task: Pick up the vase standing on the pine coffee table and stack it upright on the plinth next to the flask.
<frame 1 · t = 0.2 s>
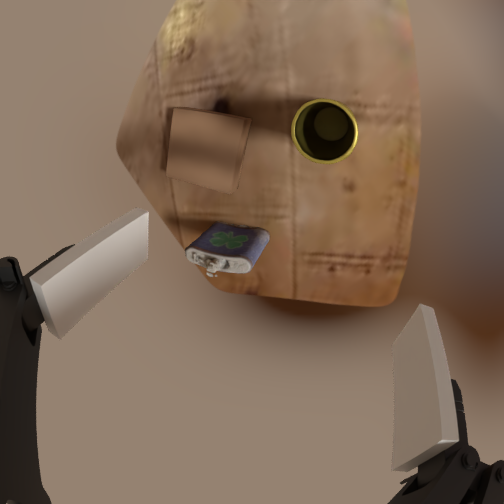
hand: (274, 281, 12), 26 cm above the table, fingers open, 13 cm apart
vase: (331, 123, 32), on the table
plinth: (210, 146, 38), on the table
flask: (240, 232, 43), on the table
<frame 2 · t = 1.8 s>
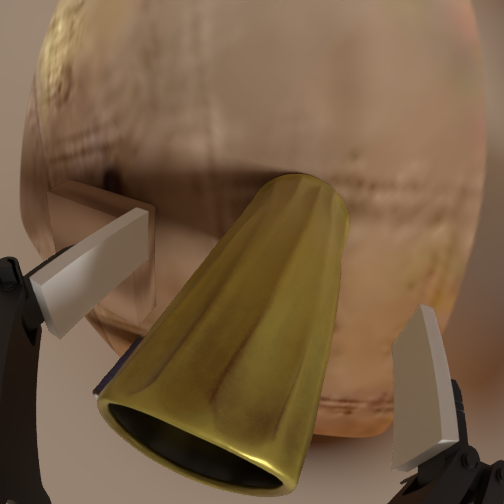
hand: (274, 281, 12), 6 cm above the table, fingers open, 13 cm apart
vase: (299, 221, 17), on the table
plinth: (110, 242, 23), on the table
flask: (172, 352, 29), on the table
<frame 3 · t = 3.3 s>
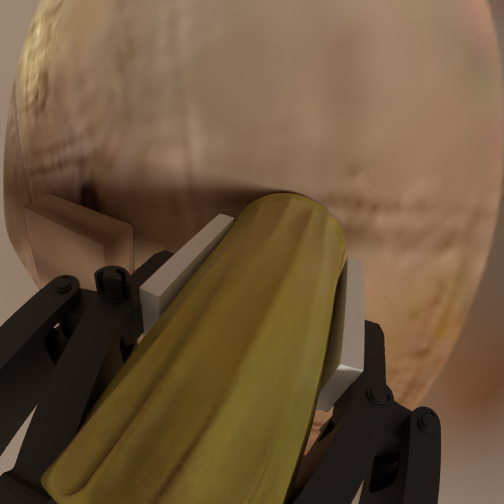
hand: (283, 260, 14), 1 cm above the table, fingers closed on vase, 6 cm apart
vase: (288, 245, 15), on the table, touching gripper
plinth: (90, 261, 21), on the table
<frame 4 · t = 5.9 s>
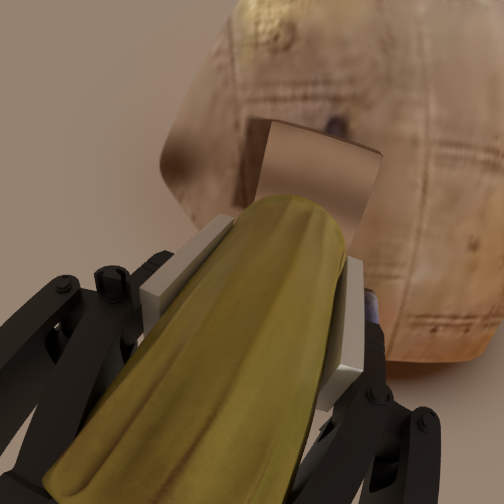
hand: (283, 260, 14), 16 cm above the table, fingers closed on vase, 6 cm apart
vase: (288, 246, 15), point 14 cm above the table, touching gripper
plinth: (316, 181, 27), on the table
flask: (339, 291, 33), on the table
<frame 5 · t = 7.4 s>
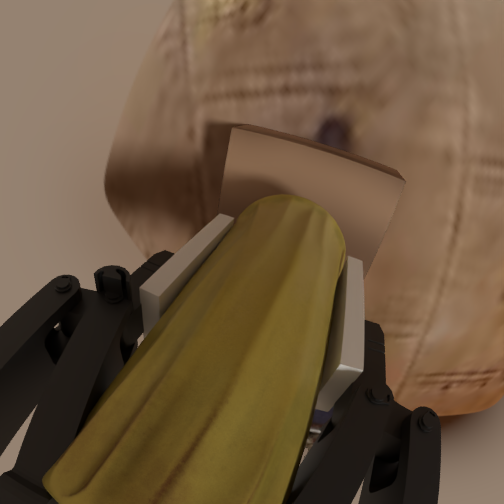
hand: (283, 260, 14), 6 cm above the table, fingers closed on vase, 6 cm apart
vase: (288, 247, 15), point 5 cm above the table, touching gripper
plinth: (303, 213, 19), on the table
flask: (333, 350, 25), on the table
when the fingers open (5 cm above the table, at t = 8.4 s): vase stays where it is, resting on plinth.
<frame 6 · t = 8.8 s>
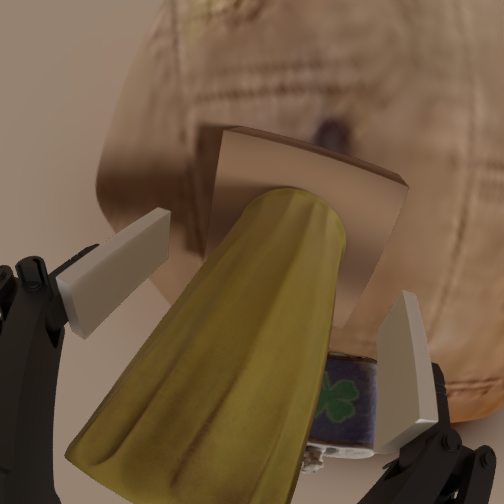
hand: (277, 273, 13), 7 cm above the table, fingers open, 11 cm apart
vase: (291, 238, 16), point 3 cm above the table, touching plinth
plinth: (300, 220, 18), on the table
flask: (331, 359, 24), on the table
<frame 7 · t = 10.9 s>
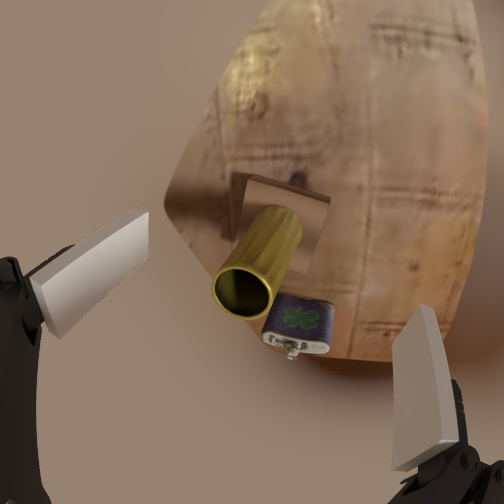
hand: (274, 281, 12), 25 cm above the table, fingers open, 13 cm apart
vase: (278, 228, 35), point 3 cm above the table, touching plinth
plinth: (282, 220, 37), on the table
flask: (304, 303, 42), on the table
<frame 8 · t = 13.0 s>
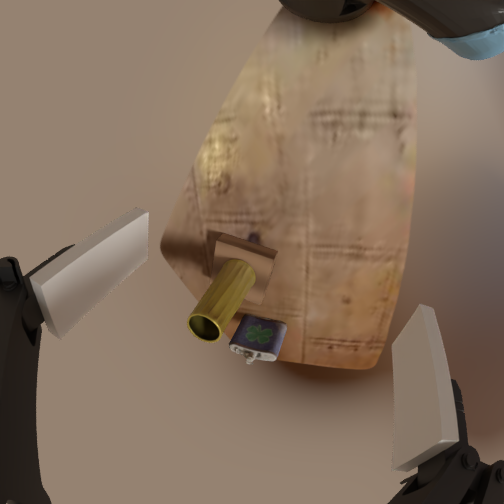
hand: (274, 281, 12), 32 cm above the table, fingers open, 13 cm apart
vase: (239, 273, 49), point 3 cm above the table, touching plinth
plinth: (244, 265, 52), on the table
flask: (265, 321, 57), on the table
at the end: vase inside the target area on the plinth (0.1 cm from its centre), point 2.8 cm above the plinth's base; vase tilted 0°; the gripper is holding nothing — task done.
